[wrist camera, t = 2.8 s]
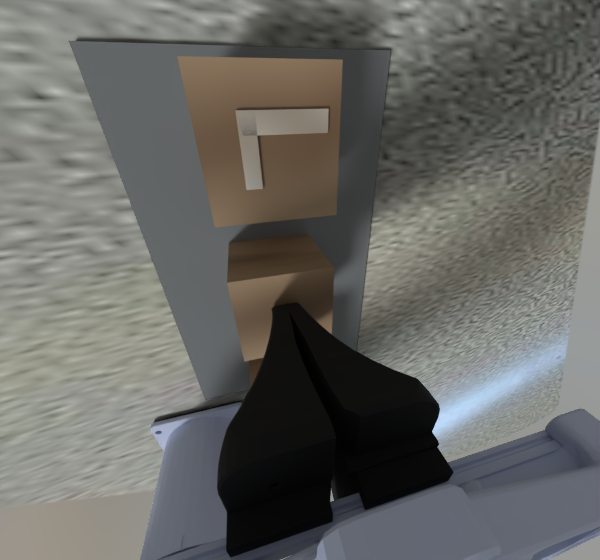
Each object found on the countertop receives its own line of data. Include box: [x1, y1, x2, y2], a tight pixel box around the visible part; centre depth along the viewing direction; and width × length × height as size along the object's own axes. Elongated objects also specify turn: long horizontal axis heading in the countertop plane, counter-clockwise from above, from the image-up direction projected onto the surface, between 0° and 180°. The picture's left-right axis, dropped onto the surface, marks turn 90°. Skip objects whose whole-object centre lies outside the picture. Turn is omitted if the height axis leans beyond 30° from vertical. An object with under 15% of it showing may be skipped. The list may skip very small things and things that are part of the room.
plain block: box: [227, 234, 334, 361], centre depth 14 cm, size 5×5×5 cm
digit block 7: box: [177, 56, 343, 228], centre depth 11 cm, size 5×5×5 cm
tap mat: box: [69, 41, 391, 400], centre depth 17 cm, size 23×14×1 cm, turn 3°
